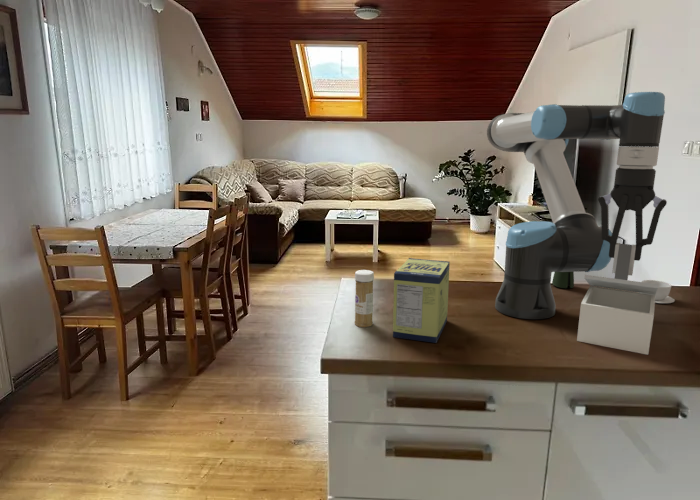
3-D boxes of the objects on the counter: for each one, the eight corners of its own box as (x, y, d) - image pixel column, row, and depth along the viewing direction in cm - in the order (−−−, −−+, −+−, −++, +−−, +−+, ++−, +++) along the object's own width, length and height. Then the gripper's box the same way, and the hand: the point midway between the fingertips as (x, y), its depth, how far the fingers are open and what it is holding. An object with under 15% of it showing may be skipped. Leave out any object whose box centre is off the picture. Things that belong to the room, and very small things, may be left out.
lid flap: (590, 285, 125) (595, 250, 125) (655, 294, 117) (660, 258, 118) (584, 278, 111) (590, 239, 112) (657, 288, 104) (663, 246, 104)
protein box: (447, 320, 126) (450, 260, 122) (437, 344, 111) (440, 276, 108) (406, 315, 129) (408, 257, 126) (391, 338, 115) (393, 272, 111)
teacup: (673, 297, 145) (676, 281, 144) (674, 307, 137) (677, 290, 136) (634, 291, 150) (636, 276, 149) (633, 301, 142) (635, 285, 141)
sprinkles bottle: (350, 324, 123) (350, 271, 120) (364, 319, 126) (364, 268, 123) (363, 329, 120) (364, 275, 117) (377, 324, 123) (377, 271, 120)
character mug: (552, 291, 150) (556, 249, 147) (540, 284, 157) (543, 244, 154) (585, 289, 152) (590, 247, 149) (571, 283, 158) (576, 243, 156)
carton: (576, 340, 113) (580, 303, 111) (586, 319, 127) (590, 285, 125) (648, 354, 106) (653, 315, 104) (650, 330, 119) (655, 295, 117)
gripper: (594, 166, 108) (582, 271, 113) (679, 169, 100) (662, 282, 105) (598, 165, 115) (587, 264, 120) (678, 167, 106) (663, 274, 112)
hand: (622, 272), depth 112 cm, fingers closed on lid flap, 2 cm apart
